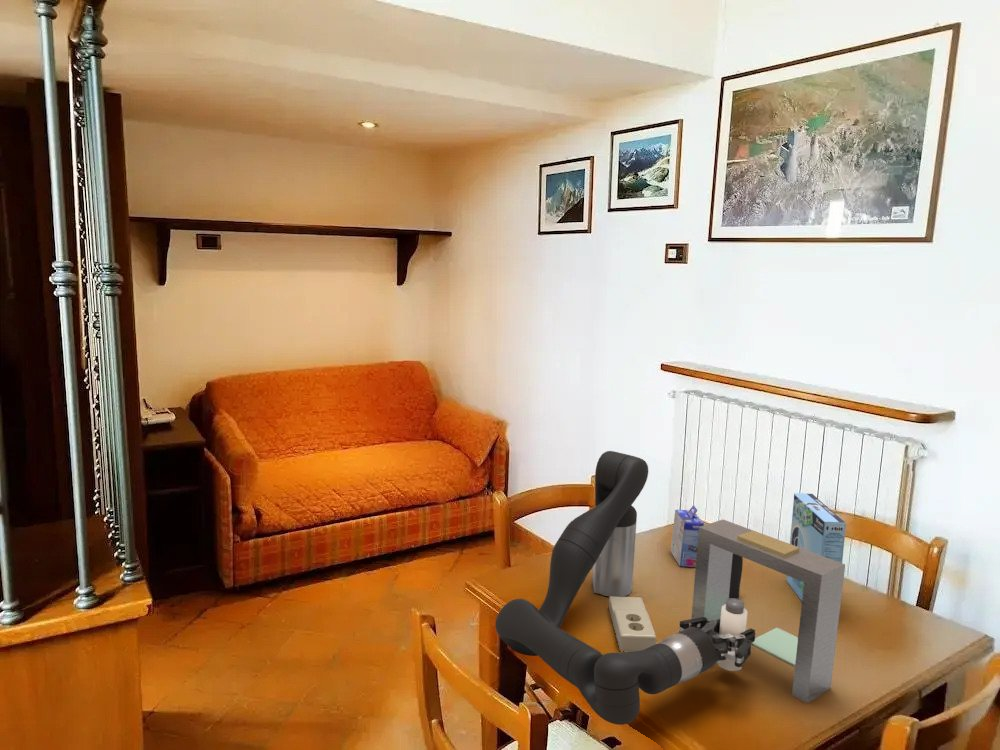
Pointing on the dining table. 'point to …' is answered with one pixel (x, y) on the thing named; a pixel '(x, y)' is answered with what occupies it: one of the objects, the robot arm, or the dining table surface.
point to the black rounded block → (735, 576)
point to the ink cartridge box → (685, 537)
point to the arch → (790, 560)
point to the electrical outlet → (631, 624)
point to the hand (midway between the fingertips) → (741, 628)
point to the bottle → (732, 626)
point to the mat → (778, 645)
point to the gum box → (815, 532)
